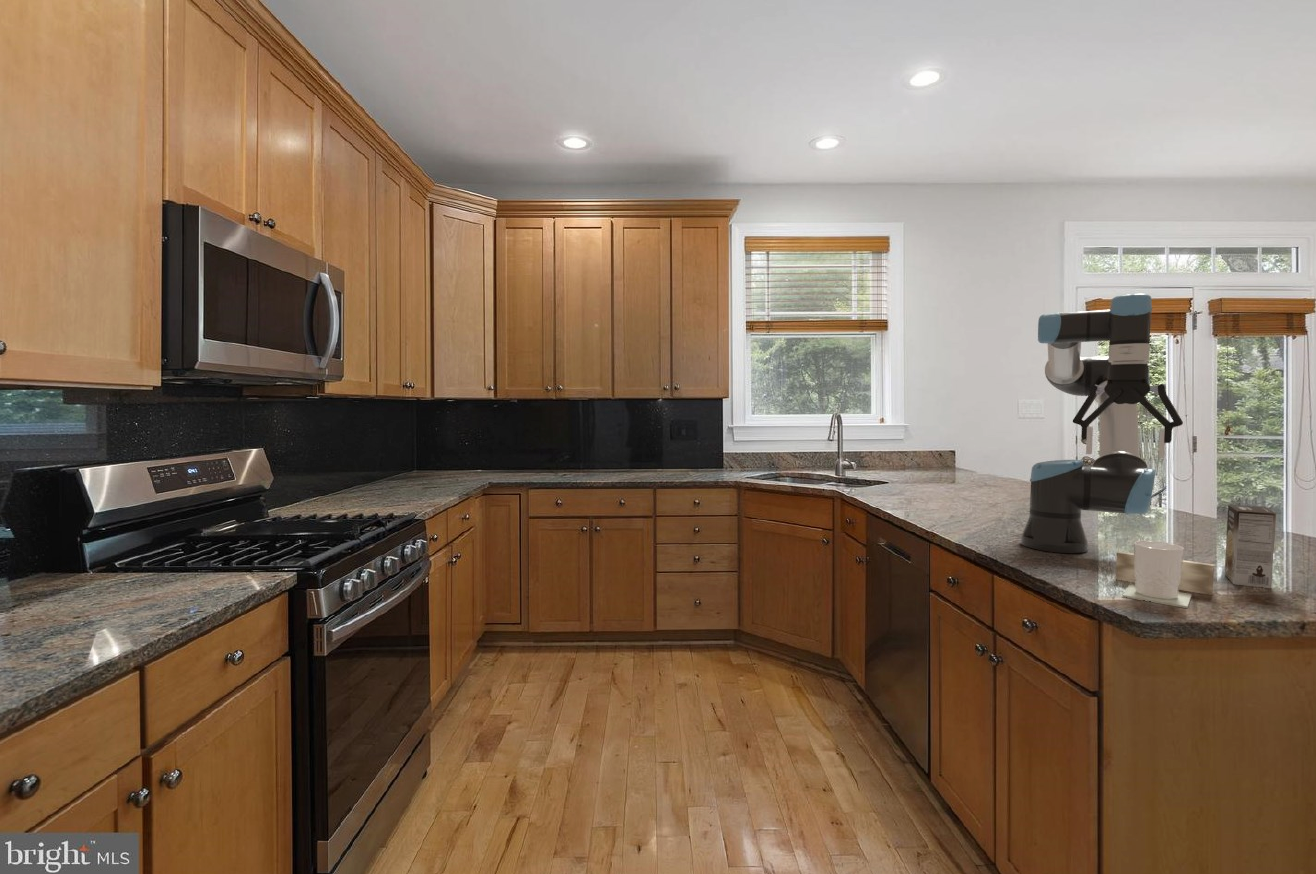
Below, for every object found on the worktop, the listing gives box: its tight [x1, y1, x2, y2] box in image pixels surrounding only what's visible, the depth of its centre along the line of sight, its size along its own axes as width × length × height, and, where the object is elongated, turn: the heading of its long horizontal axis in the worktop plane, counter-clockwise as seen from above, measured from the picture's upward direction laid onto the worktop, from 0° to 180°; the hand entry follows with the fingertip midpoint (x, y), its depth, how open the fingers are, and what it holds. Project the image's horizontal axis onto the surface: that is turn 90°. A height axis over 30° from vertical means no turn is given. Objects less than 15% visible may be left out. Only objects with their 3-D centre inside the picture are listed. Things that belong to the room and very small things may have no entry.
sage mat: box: [1122, 583, 1193, 609], centre depth 126 cm, size 10×10×1 cm
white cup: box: [1133, 540, 1185, 599], centre depth 126 cm, size 8×8×10 cm
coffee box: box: [1224, 504, 1277, 589], centre depth 136 cm, size 9×6×16 cm
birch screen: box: [1115, 551, 1215, 596], centre depth 133 cm, size 16×2×6 cm, turn 46°
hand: (1124, 455), depth 146 cm, fingers open, 13 cm apart
